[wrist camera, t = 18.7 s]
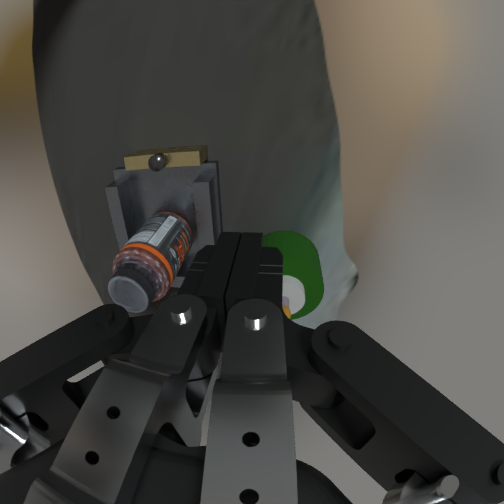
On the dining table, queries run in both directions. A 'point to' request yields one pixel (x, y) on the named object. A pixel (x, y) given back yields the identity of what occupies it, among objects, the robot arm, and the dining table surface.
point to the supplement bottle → (150, 261)
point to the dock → (168, 203)
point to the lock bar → (166, 158)
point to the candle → (298, 272)
